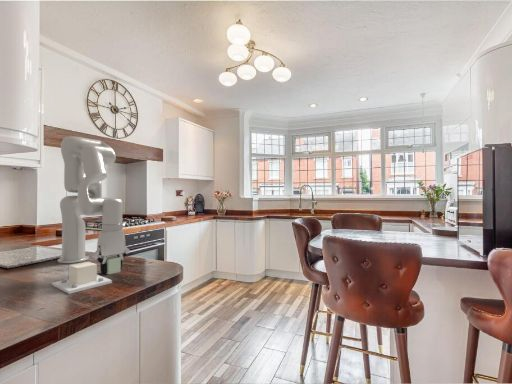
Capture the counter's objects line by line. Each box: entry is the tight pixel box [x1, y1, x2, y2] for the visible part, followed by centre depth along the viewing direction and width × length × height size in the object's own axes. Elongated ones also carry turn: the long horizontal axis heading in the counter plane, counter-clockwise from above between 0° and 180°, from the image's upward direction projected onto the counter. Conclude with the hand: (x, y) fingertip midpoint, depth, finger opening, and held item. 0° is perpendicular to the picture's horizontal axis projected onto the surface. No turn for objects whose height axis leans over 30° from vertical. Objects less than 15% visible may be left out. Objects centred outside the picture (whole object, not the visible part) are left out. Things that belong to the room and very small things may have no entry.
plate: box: [51, 274, 113, 295], centre depth 99 cm, size 14×14×2 cm
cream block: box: [68, 261, 98, 285], centre depth 99 cm, size 6×6×6 cm
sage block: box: [105, 255, 122, 275], centre depth 115 cm, size 5×5×6 cm
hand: (111, 270), depth 115 cm, fingers open, 5 cm apart
